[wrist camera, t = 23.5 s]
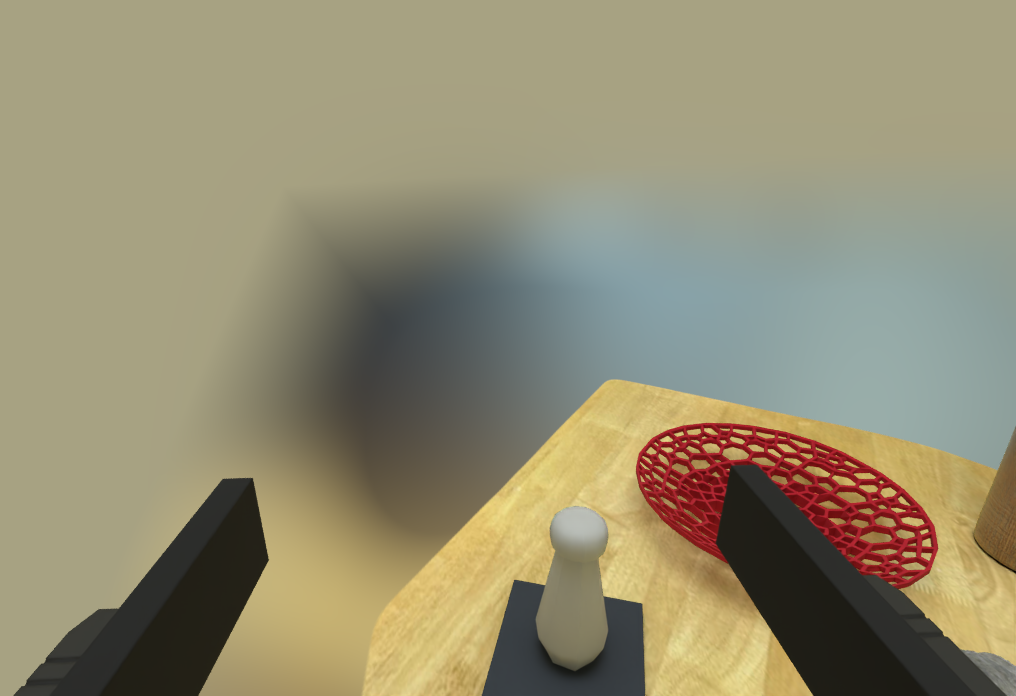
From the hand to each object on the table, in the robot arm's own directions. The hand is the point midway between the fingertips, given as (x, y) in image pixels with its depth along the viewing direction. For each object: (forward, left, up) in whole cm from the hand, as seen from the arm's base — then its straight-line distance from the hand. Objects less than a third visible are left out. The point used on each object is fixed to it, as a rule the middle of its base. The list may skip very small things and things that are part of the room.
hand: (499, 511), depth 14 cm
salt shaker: (+1, +19, -29) cm, 35 cm away
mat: (+1, +19, -29) cm, 35 cm away
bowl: (+21, +41, -30) cm, 55 cm away
